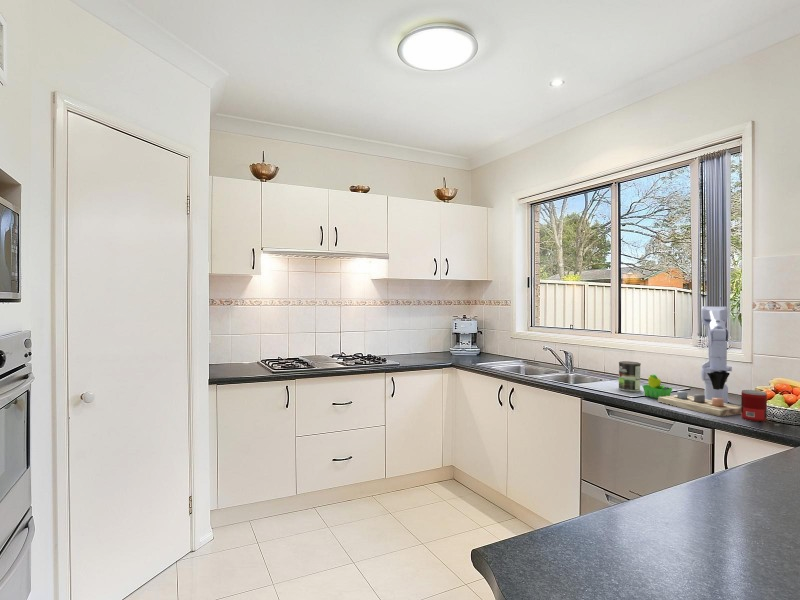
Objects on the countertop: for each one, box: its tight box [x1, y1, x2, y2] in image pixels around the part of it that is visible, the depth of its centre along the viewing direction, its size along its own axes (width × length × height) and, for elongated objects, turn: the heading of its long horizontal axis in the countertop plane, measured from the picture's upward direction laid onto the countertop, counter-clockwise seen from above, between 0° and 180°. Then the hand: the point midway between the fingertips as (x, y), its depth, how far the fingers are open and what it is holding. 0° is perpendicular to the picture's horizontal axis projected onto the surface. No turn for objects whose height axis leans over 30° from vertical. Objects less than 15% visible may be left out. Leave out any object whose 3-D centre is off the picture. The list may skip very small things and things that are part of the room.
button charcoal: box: [693, 393, 705, 404], centre depth 207 cm, size 4×4×4 cm
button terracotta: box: [712, 398, 724, 408], centre depth 199 cm, size 4×4×4 cm
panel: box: [657, 394, 741, 417], centre depth 207 cm, size 16×28×2 cm, turn 23°
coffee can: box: [618, 360, 642, 392], centre depth 247 cm, size 10×10×14 cm
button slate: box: [676, 390, 689, 400], centre depth 214 cm, size 4×4×4 cm
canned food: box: [740, 389, 768, 423], centre depth 187 cm, size 8×8×11 cm
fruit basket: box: [642, 373, 674, 399], centre depth 228 cm, size 11×9×11 cm
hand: (718, 389), depth 199 cm, fingers closed
